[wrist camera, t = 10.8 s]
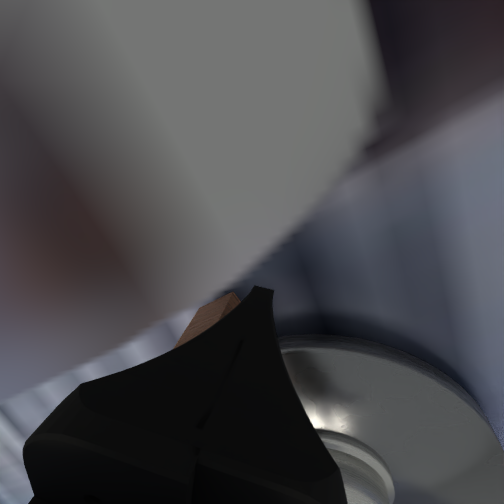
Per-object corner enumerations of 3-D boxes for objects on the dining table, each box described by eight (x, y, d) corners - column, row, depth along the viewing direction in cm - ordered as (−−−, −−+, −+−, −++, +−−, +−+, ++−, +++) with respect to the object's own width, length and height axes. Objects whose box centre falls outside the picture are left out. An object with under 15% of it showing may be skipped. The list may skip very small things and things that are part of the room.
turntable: (379, 220, 11) (404, 276, 7) (542, 520, 15) (609, 648, 11) (111, 350, 17) (54, 415, 13) (282, 536, 21) (273, 623, 18)
